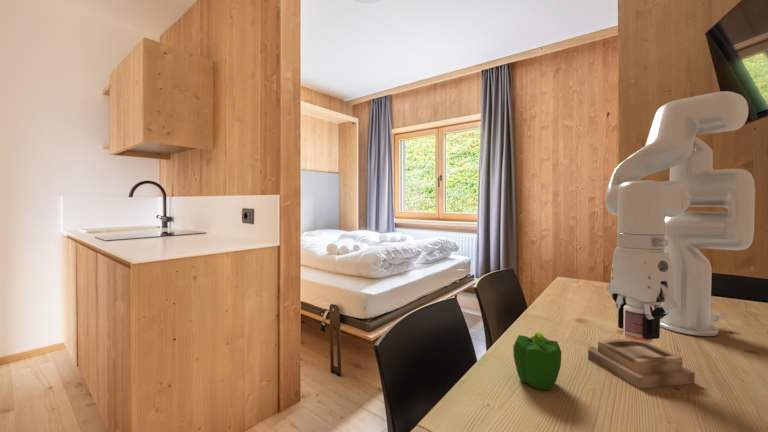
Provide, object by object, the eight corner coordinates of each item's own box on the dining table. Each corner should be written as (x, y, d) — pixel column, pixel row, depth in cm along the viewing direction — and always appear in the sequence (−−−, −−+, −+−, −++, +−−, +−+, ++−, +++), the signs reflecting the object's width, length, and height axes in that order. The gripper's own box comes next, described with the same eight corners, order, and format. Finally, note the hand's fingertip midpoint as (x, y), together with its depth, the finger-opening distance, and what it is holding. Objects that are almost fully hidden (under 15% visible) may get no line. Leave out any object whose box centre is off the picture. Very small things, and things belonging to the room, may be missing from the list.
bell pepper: (516, 367, 68) (516, 319, 68) (561, 378, 64) (562, 326, 63) (508, 386, 61) (509, 332, 60) (559, 400, 56) (560, 342, 56)
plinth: (636, 354, 74) (636, 335, 73) (694, 383, 62) (694, 360, 62) (588, 358, 72) (588, 339, 72) (638, 388, 60) (639, 365, 60)
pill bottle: (658, 344, 64) (659, 301, 64) (630, 342, 65) (631, 300, 64) (644, 335, 68) (645, 295, 68) (618, 333, 69) (619, 293, 69)
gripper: (702, 247, 58) (699, 349, 59) (619, 238, 75) (618, 318, 75) (666, 248, 57) (663, 352, 58) (590, 239, 74) (588, 319, 74)
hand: (637, 332), depth 66 cm, fingers closed on pill bottle, 4 cm apart
